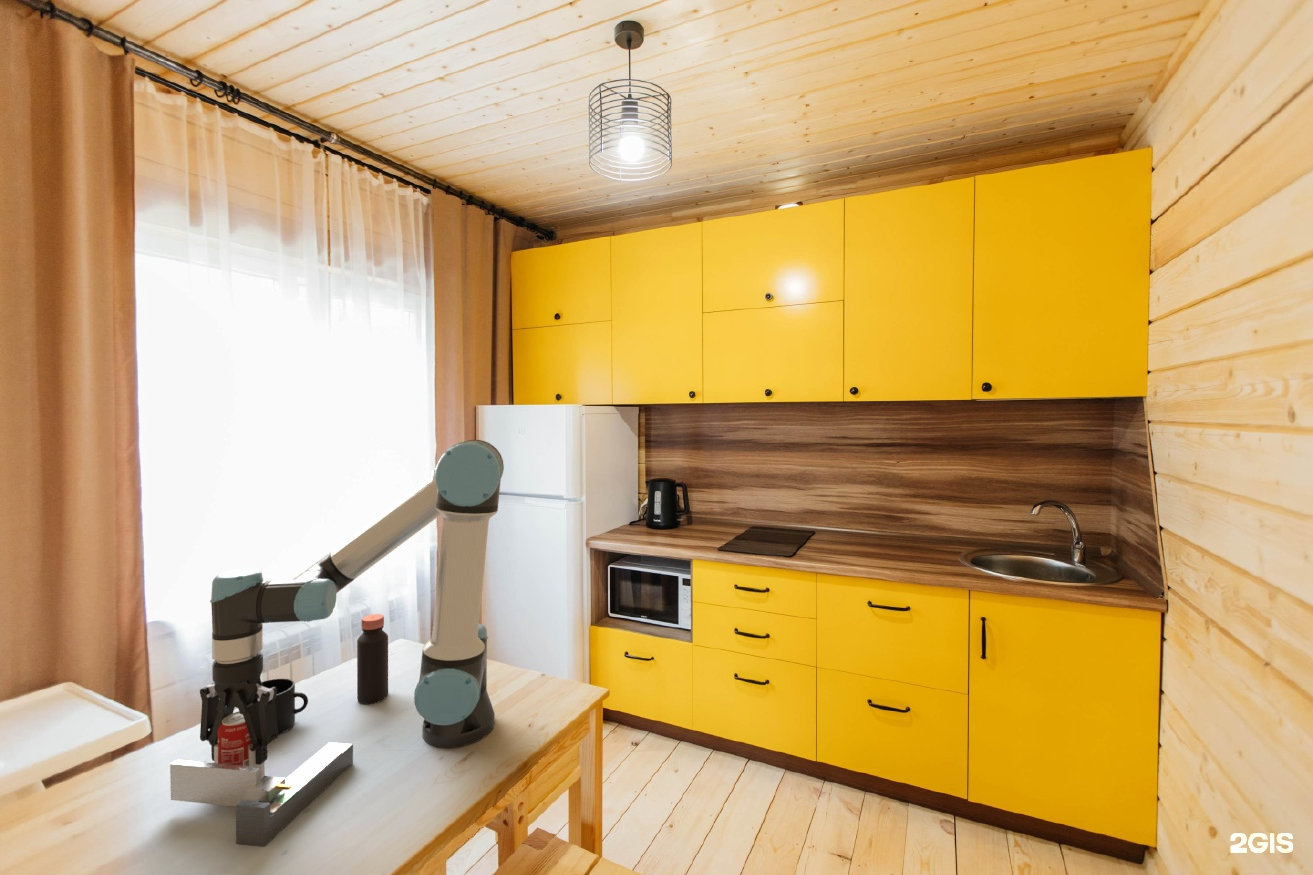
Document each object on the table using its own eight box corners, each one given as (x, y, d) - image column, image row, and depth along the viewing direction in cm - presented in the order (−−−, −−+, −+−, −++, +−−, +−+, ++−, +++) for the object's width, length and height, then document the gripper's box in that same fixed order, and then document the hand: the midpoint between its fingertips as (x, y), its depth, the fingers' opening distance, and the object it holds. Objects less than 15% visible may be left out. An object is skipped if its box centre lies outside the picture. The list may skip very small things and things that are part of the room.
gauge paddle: (298, 801, 98) (297, 765, 98) (282, 816, 94) (281, 779, 94) (183, 790, 100) (183, 755, 100) (163, 804, 97) (163, 767, 96)
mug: (304, 732, 123) (304, 691, 123) (238, 744, 118) (237, 702, 118) (311, 711, 132) (311, 673, 132) (249, 721, 127) (248, 682, 127)
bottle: (353, 697, 139) (353, 616, 138) (383, 688, 144) (383, 610, 143) (361, 707, 134) (361, 624, 133) (392, 698, 138) (391, 618, 138)
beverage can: (254, 765, 109) (253, 704, 109) (265, 778, 105) (264, 715, 105) (214, 781, 104) (213, 717, 104) (223, 796, 100) (223, 730, 100)
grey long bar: (352, 763, 113) (352, 732, 112) (264, 846, 91) (264, 807, 90) (329, 761, 113) (329, 730, 113) (236, 843, 91) (235, 804, 91)
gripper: (301, 650, 107) (302, 769, 107) (209, 644, 109) (210, 761, 110) (270, 667, 99) (271, 795, 100) (171, 661, 101) (173, 786, 102)
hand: (239, 777), depth 105 cm, fingers closed on beverage can, 6 cm apart
